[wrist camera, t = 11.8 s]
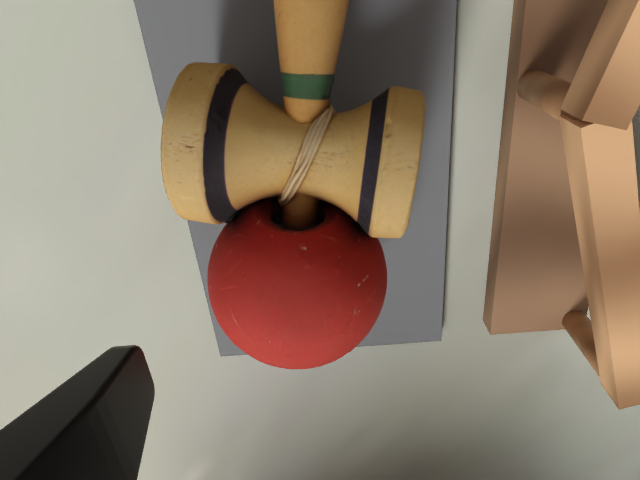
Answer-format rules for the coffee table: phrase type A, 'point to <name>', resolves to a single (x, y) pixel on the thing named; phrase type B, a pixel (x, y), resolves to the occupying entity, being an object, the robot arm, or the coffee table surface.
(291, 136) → the kendama
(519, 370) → the coffee table surface
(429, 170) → the mat
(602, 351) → the tan wooden frame
